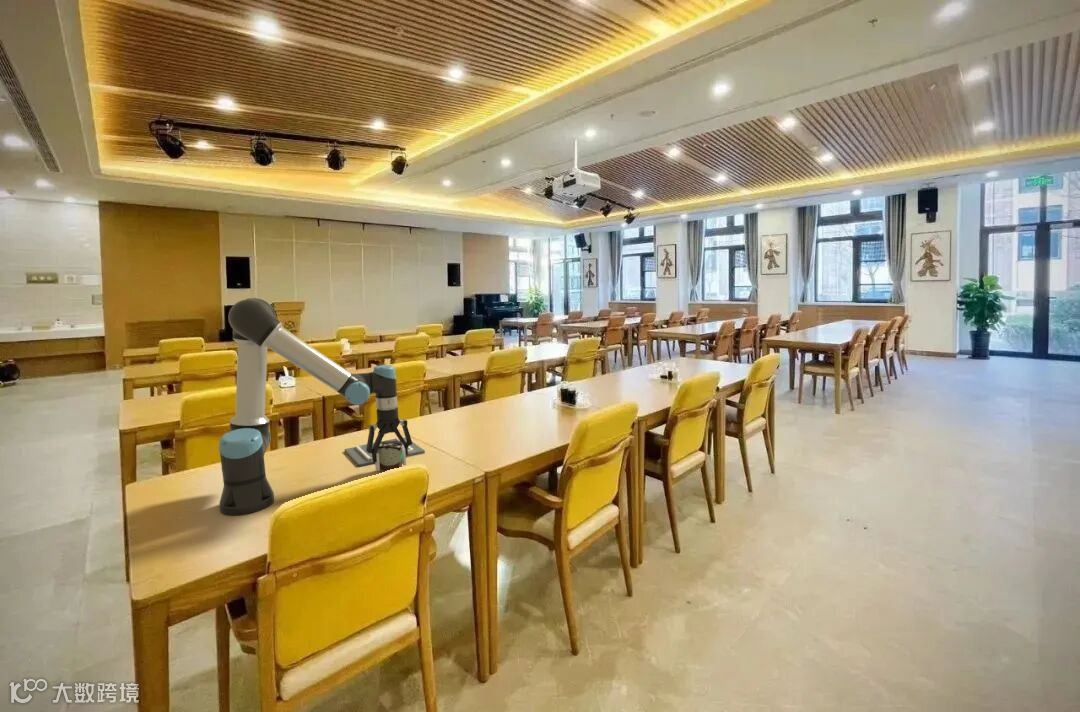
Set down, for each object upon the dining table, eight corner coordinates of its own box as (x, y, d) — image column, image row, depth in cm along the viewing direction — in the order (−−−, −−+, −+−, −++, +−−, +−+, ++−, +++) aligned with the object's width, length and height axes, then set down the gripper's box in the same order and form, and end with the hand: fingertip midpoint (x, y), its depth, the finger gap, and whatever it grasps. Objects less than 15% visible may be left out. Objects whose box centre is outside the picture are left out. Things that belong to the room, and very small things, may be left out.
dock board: (359, 466, 198) (358, 461, 197) (344, 451, 216) (344, 446, 215) (424, 452, 212) (424, 448, 212) (406, 439, 230) (405, 435, 230)
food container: (411, 467, 196) (410, 441, 195) (403, 473, 190) (402, 446, 189) (382, 465, 199) (381, 439, 198) (373, 470, 193) (371, 444, 192)
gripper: (359, 414, 182) (363, 476, 185) (419, 405, 194) (422, 463, 197) (353, 410, 188) (358, 470, 191) (412, 401, 200) (415, 458, 203)
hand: (391, 466), depth 194 cm, fingers closed on food container, 9 cm apart
